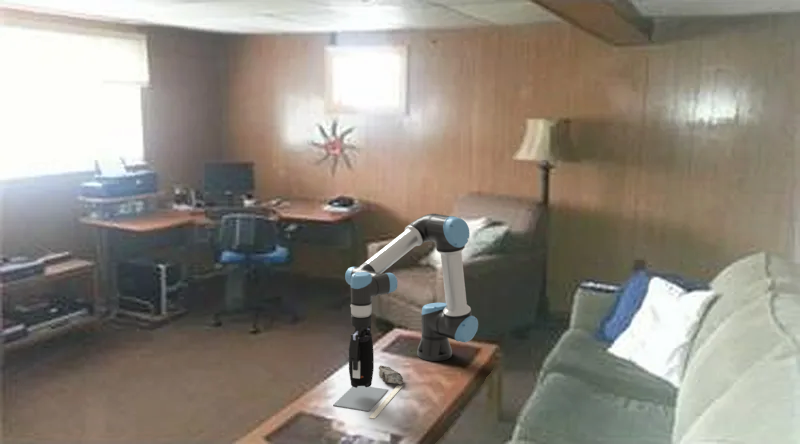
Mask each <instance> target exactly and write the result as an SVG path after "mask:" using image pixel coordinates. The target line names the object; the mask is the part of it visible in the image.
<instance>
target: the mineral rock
mask: <svg viewBox="0 0 800 444" xmlns="http://www.w3.org/2000/svg"><path fill="white" fill-rule="evenodd" d="M378 370H379V372H378V376H379V378H382V380H383V382H384V383H386V384H388V383H389V384H394V385H395V384H397V385H398V384H399V385H401V384H403V383H404V380H403V379H404V378H403V376H402V374H401V373H399V371H396V370H395V369H393V368H391V367H390V366H385V365H379V366H378Z"/></svg>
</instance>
